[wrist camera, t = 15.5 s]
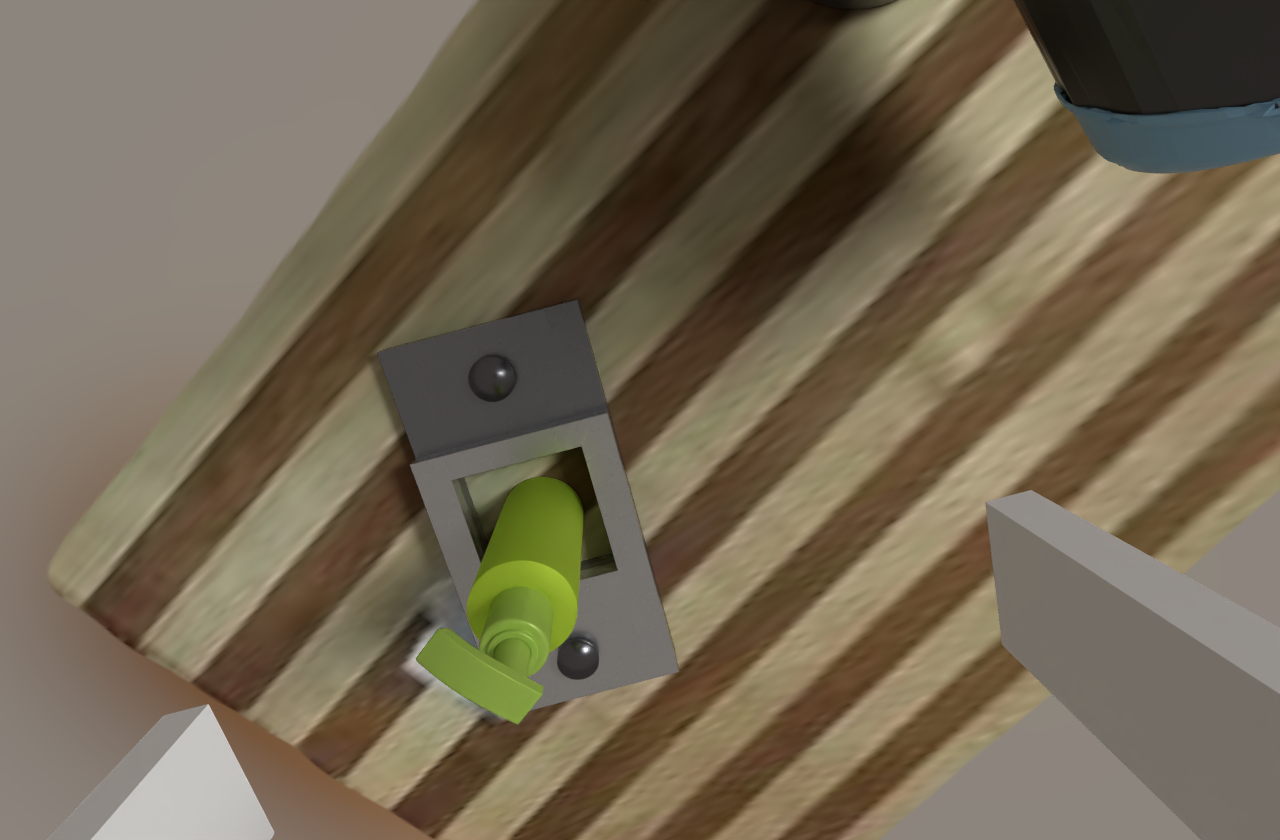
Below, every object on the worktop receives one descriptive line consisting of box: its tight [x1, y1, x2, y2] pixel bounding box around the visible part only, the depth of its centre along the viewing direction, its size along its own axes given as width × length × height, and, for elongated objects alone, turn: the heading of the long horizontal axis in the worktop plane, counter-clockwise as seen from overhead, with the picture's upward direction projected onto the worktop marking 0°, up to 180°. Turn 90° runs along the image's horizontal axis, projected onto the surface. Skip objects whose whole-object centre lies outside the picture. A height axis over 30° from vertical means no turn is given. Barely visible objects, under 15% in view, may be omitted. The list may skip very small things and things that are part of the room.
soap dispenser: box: [416, 477, 584, 725], centre depth 37 cm, size 6×7×20 cm
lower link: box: [377, 298, 653, 572], centre depth 45 cm, size 20×14×2 cm, turn 14°
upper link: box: [410, 408, 679, 710], centre depth 46 cm, size 20×14×4 cm, turn 14°
